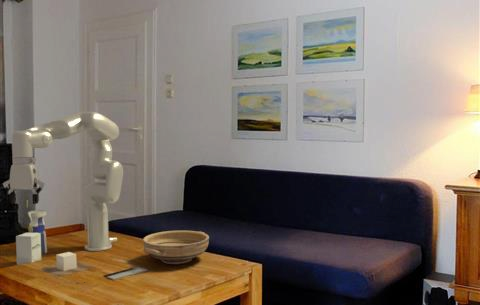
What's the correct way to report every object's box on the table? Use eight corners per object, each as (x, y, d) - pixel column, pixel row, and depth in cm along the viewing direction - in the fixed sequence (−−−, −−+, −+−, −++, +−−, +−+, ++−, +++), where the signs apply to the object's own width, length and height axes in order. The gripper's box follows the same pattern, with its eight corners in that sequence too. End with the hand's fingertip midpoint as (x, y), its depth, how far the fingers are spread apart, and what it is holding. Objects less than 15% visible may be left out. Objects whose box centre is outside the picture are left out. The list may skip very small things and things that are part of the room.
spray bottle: (34, 256, 230) (32, 201, 229) (25, 253, 236) (23, 199, 234) (51, 252, 236) (49, 199, 235) (42, 249, 242) (40, 197, 240)
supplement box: (31, 266, 214) (30, 236, 213) (16, 265, 216) (15, 235, 215) (42, 261, 221) (41, 232, 221) (26, 260, 223) (25, 232, 222)
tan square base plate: (74, 263, 217) (74, 252, 216) (95, 271, 206) (94, 258, 206) (38, 272, 205) (37, 260, 205) (58, 280, 194) (58, 267, 194)
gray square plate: (124, 263, 216) (124, 262, 216) (147, 270, 206) (147, 269, 206) (90, 272, 205) (90, 270, 205) (113, 280, 194) (113, 278, 194)
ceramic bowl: (173, 276, 198) (173, 251, 197) (121, 265, 213) (121, 242, 213) (227, 255, 229) (227, 233, 228) (178, 247, 244) (178, 226, 244)
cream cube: (69, 265, 209) (69, 251, 209) (76, 267, 206) (76, 254, 205) (56, 268, 205) (56, 254, 205) (63, 270, 201) (63, 257, 201)
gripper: (47, 160, 208) (49, 202, 209) (8, 160, 210) (9, 201, 211) (38, 162, 201) (39, 205, 202) (-3, 162, 203) (-2, 204, 204)
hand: (24, 203), depth 207 cm, fingers open, 9 cm apart
